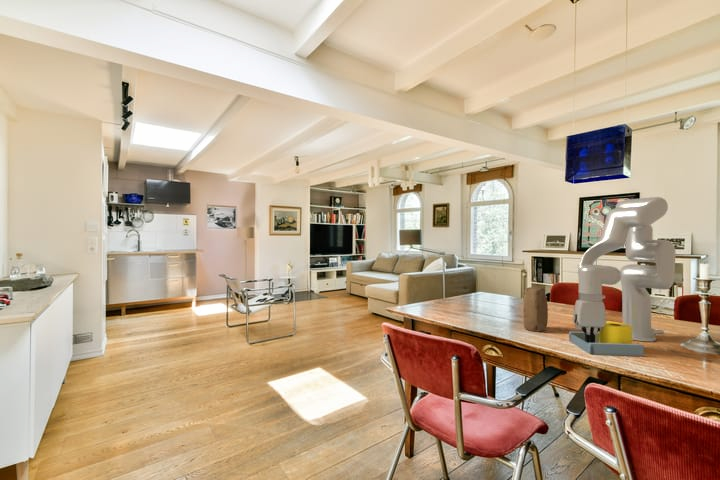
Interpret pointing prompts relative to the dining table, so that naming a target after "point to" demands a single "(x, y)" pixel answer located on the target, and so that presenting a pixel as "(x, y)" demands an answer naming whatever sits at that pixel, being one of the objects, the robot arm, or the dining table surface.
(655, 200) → the robot arm
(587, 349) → the grey shallow tray
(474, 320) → the dining table surface
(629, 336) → the tape roll
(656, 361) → the dining table surface
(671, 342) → the dining table surface
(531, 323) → the block
